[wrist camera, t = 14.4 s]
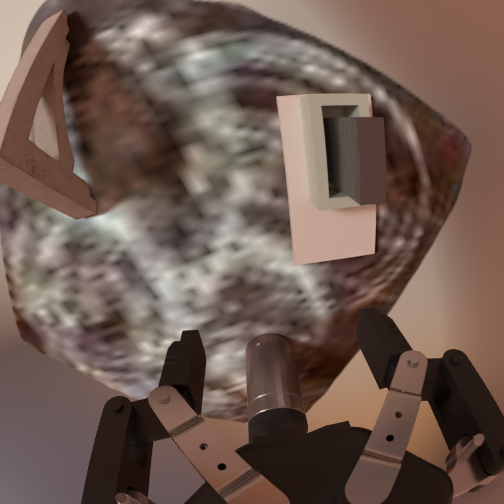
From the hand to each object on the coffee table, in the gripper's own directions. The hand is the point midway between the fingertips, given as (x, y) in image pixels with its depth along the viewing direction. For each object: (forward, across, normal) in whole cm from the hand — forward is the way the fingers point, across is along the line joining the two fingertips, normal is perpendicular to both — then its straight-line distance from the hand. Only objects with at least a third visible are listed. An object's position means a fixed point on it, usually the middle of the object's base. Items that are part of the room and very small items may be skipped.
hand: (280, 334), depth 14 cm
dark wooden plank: (+30, -12, -6) cm, 33 cm away
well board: (+31, -12, -1) cm, 33 cm away
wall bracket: (+31, +28, -20) cm, 46 cm away
